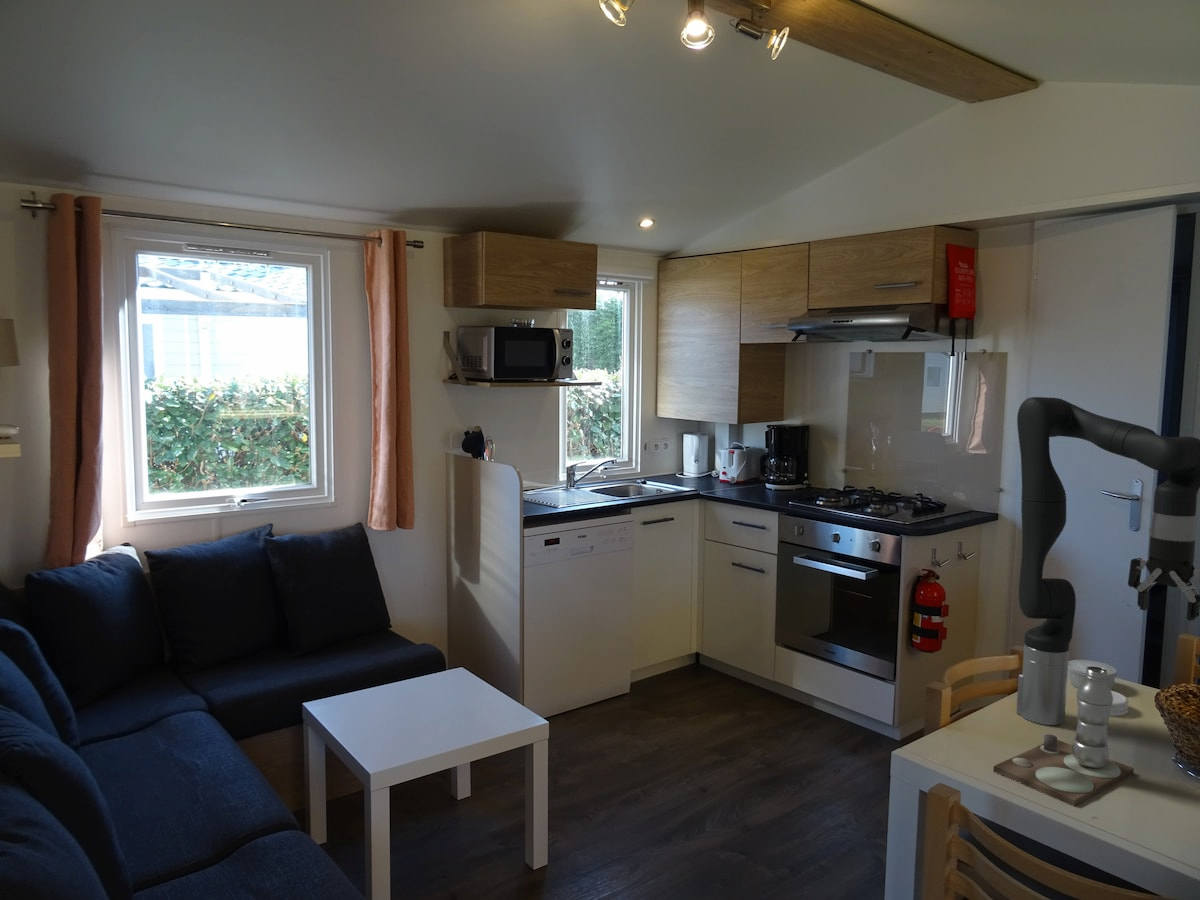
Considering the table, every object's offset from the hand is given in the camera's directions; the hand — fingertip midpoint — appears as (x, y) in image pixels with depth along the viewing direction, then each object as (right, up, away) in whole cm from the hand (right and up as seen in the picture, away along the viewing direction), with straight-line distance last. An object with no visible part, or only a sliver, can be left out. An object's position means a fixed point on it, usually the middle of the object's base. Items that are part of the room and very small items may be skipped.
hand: (1167, 614), depth 169 cm
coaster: (+7, -30, +33) cm, 45 cm away
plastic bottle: (-15, -31, +1) cm, 35 cm away
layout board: (-21, -32, 0) cm, 38 cm away
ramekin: (+12, -28, +47) cm, 56 cm away
